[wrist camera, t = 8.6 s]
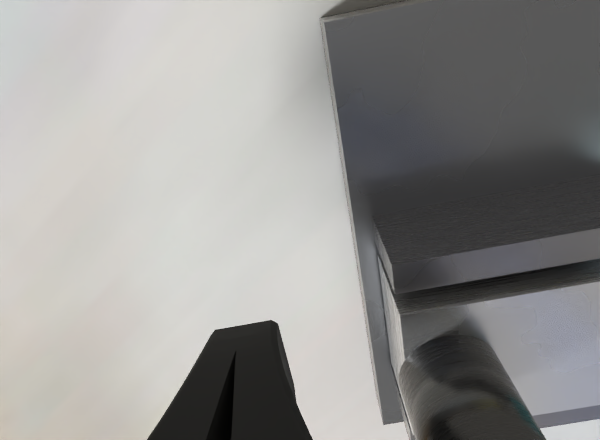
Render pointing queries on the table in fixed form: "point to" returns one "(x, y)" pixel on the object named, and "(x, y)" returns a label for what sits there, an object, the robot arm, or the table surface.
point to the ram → (496, 351)
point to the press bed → (465, 148)
